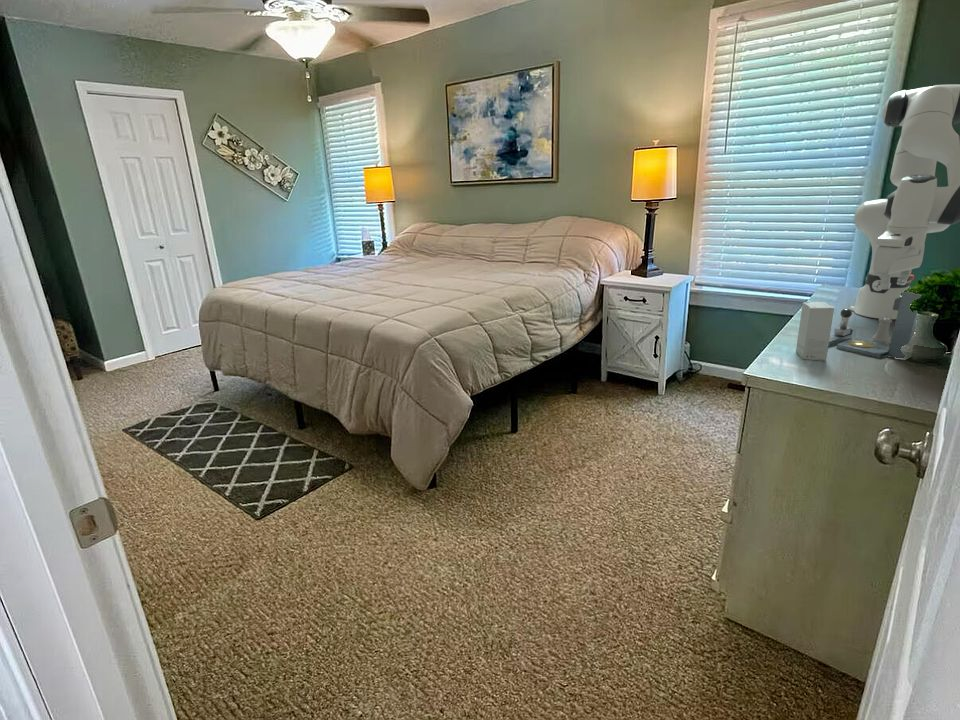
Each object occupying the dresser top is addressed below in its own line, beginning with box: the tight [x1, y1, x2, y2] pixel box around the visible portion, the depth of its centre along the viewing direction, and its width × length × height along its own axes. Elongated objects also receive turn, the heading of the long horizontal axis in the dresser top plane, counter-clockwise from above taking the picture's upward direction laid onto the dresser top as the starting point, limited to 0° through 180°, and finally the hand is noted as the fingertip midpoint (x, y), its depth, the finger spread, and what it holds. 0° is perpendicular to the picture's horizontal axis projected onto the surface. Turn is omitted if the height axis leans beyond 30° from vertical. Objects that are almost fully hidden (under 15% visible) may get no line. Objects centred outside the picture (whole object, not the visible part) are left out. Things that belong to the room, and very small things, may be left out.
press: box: [828, 291, 922, 359], centre depth 143 cm, size 15×20×18 cm
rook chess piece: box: [870, 316, 893, 345], centre depth 149 cm, size 4×4×8 cm
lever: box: [833, 308, 853, 336], centre depth 153 cm, size 4×3×8 cm
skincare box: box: [795, 301, 835, 362], centre depth 141 cm, size 8×6×15 cm
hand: (893, 286), depth 145 cm, fingers open, 8 cm apart
